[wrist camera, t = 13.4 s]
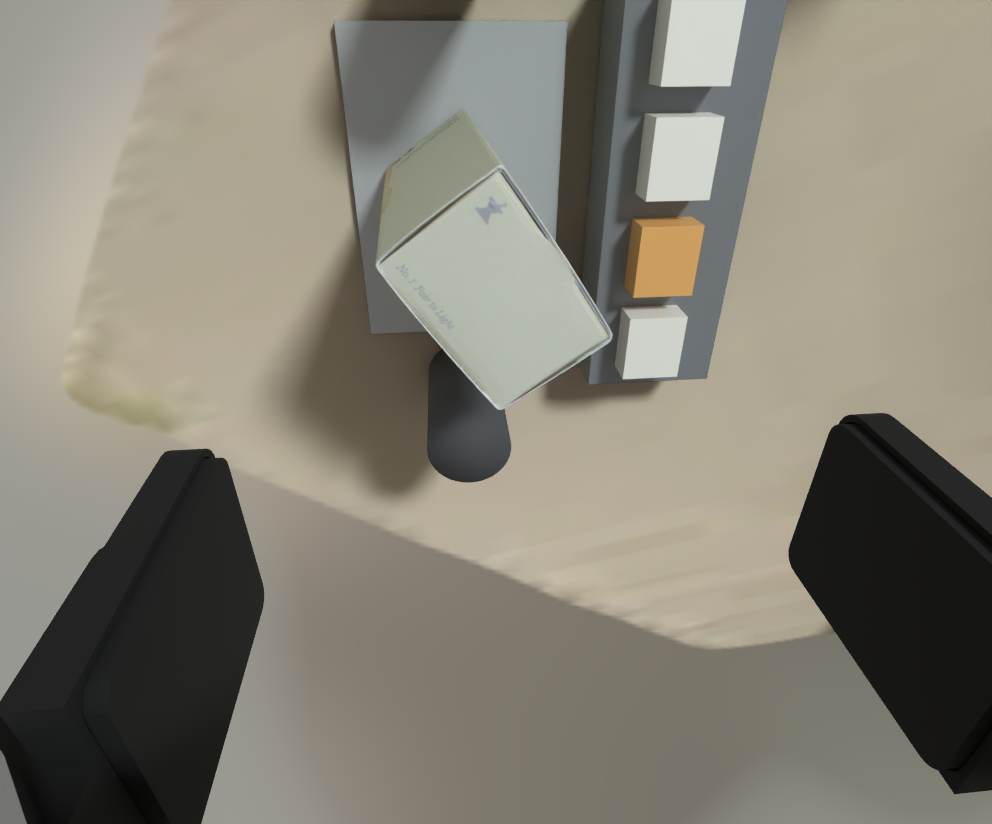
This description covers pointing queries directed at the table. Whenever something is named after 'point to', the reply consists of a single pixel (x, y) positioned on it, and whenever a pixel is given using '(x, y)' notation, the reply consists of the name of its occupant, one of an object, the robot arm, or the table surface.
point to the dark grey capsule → (463, 426)
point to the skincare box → (482, 266)
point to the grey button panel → (615, 152)
